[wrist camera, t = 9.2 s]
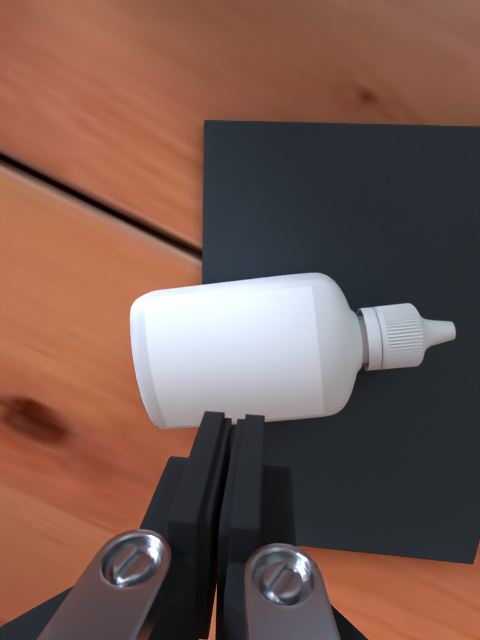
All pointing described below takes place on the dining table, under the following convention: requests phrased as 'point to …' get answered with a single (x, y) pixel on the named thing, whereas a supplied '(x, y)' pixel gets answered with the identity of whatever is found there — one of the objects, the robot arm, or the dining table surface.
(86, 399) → the dining table surface
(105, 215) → the dining table surface
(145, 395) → the eye dropper bottle
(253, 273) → the mat
